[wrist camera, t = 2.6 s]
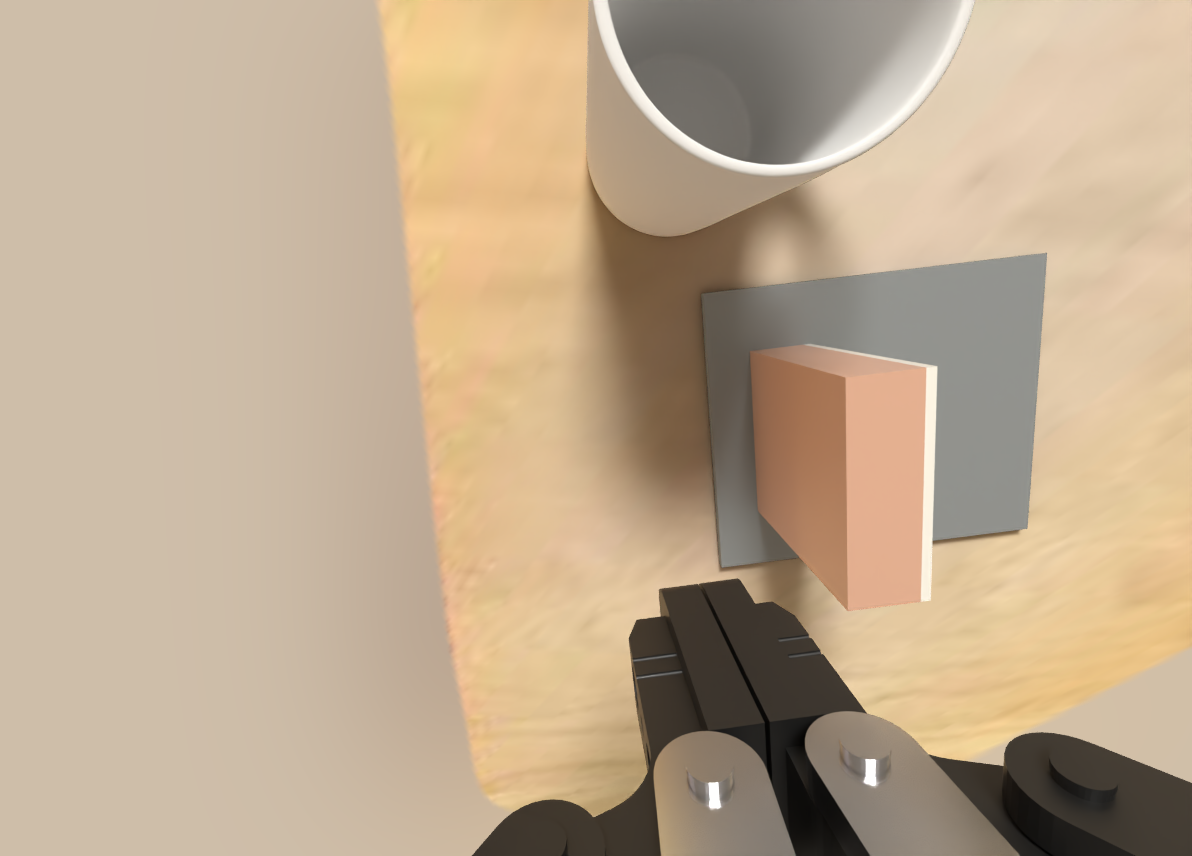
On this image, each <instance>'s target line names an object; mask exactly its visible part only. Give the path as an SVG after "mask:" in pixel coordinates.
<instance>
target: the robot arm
mask: <svg viewBox="0 0 1192 856" xmlns="http://www.w3.org/2000/svg"><path fill="white" fill-rule="evenodd" d="M659 602H660V613H661V617H655V618H647V619H640V620H636V623H635V625H634V627H633V630H632V632H631V634H630V637H629V645H630V654H631V663H632V672H633V681H634V690H635V699H636V708H637V714H638V720H639V726H640V731H641V736H642V742H643V748H644V753H645V759H646V765H647V770H648V773H647V775H646V777H645V779H644V781H643V783H642V784H641V786H640V787H639V788H638V790H637V791H636V792H635V793H634V794H633V795H632V796H631V797H629V798H628V799H627V800H626V801H624V802H623V803H621V804H620V805H618V806H616V807H614V808H613V809H611V810H608V811H606V812H604V813H602V814H600V815H598V816H596V817H594V818H593V817H592V815H591V814H590V813H589V812H588V811H586V810H585V809H583V808H582V807H580V806H578V805H576V804H574V803H571V802H568V801H563V800H542V801H538V802H534V803H531V804H529V805H526V806H524V807H522V808H520V809H518V810H517V811H515V812H513V813H512V814H511V815H509V816H508V817H507V818H505V819H504V820H503V821H502V822H501V823H500V824H499V825H498V826H497V827H496V829H495V830H494V831H493V832H492V833H491V835H489V837H488V838H487V839H486V840H485V841H484V842H483V844H482V845H481V846H480V847H479V848H478V849H477V850H476V852H475V853H474V854H473V855H472V856H1192V783H1190V782H1188V781H1185V780H1183V779H1180V778H1178V777H1175V776H1173V775H1170V774H1168V773H1165V772H1162V771H1160V770H1157V769H1155V768H1152V767H1150V766H1147V765H1145V764H1142V763H1140V762H1137V761H1135V760H1132V759H1130V758H1127V757H1125V756H1122V755H1120V754H1117V753H1115V752H1112V751H1109V750H1107V749H1105V748H1102V747H1099V746H1097V745H1095V744H1092V743H1089V742H1086V741H1083V740H1081V739H1077V738H1074V737H1070V736H1066V735H1060V734H1055V733H1043V732H1041V733H1029V734H1024V735H1021V736H1018V737H1016V738H1014V739H1013V740H1012V741H1010V742H1009V744H1008V745H1007V747H1006V750H1005V753H1004V766H999V765H991V764H983V763H975V762H968V761H960V760H952V759H946V758H940V757H936V756H932V755H929V754H927V753H926V752H925V750H924V749H923V748H922V747H921V746H920V745H919V744H918V743H917V742H916V741H915V740H914V739H913V738H912V737H911V736H910V735H909V734H908V733H906V732H905V731H904V730H902V729H901V728H900V727H898V726H896V725H894V724H893V723H891V722H889V721H887V720H884V719H882V718H880V717H877V716H874V715H870V714H867V713H866V712H865V710H864V709H863V708H862V706H861V705H860V703H859V702H858V701H857V699H856V698H855V697H854V695H853V694H852V693H851V691H850V690H849V689H848V687H847V686H846V685H845V683H844V682H843V680H842V679H841V678H840V676H839V675H838V674H837V672H836V671H835V670H834V668H833V667H832V666H831V664H830V663H829V661H828V660H827V659H826V657H825V656H824V655H823V654H822V655H821V652H820V649H819V648H818V647H817V645H816V644H815V643H814V641H813V640H812V638H809V634H808V633H807V632H806V630H805V629H804V628H803V626H802V625H801V624H800V622H799V621H798V619H797V618H796V617H795V616H794V615H793V614H791V613H789V612H788V611H786V610H785V609H783V608H781V607H780V606H778V605H777V604H775V603H773V602H766V603H759V604H755V603H754V601H753V600H752V598H751V596H750V595H749V593H748V592H747V590H746V589H745V587H744V585H743V584H742V582H741V581H740V580H739V579H731V580H723V581H716V582H708V583H701V584H699V585H698V584H694V585H686V586H679V587H671V588H664V589H659Z"/></svg>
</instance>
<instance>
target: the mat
mask: <svg viewBox="0 0 1192 856" xmlns="http://www.w3.org/2000/svg"><path fill="white" fill-rule="evenodd" d="M1046 261H1047V253H1043V254H1034V255H1025V256H1017V257H1008V258H1000V259H991V260H983V261H974V262H966V263H957V264H949V265H940V266H932V267H923V268H915V269H906V270H898V271H889V272H881V273H872V274H864V275H855V276H847V277H839V278H830V279H822V280H813V281H805V282H796V283H788V284H779V285H771V286H762V287H754V288H745V289H737V290H728V291H720V292H711V293H703V294H701V301H702V316H703V330H704V345H705V360H706V374H707V389H708V404H709V418H710V433H711V447H712V462H713V477H714V491H715V506H716V521H717V535H718V550H719V564H720V565H721V567H722V568H723V567H730V566H738V565H746V564H754V563H762V562H770V561H778V560H785V559H793V558H800V557H799V556H798V555H797V554H796V553H795V552H794V551H793V549H792V548H791V547H790V546H789V545H788V544H787V543H786V542H785V541H784V539H783V538H782V537H781V536H780V535H779V534H778V533H777V532H776V530H775V529H774V528H773V527H772V526H771V525H770V524H769V523H768V522H767V520H766V519H765V518H764V517H763V516H762V515H761V514H760V513H759V512H758V505H757V485H756V465H755V445H754V425H753V404H752V384H751V364H750V351H755V350H763V349H772V348H780V347H788V346H797V345H805V344H814V345H819V346H825V347H831V348H836V349H842V350H848V351H853V352H859V353H865V354H870V355H876V356H882V357H887V358H893V359H899V360H904V361H910V362H916V363H921V364H927V365H933V366H937V399H936V434H935V469H934V503H933V538H932V541H934V540H942V539H950V538H958V537H966V536H974V535H982V534H989V533H997V532H1005V531H1013V530H1021V529H1027V527H1028V513H1029V499H1030V485H1031V471H1032V457H1033V443H1034V429H1035V415H1036V401H1037V387H1038V373H1039V359H1040V345H1041V331H1042V317H1043V303H1044V289H1045V275H1046Z"/></svg>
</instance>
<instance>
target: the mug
mask: <svg viewBox="0 0 1192 856" xmlns="http://www.w3.org/2000/svg"><path fill="white" fill-rule="evenodd" d="M974 3H975V0H589V6H588V55H587V106H586V153H587V163H588V168H589V173H590V176H591V179H592V182H593V185H594V187H595V189H596V191H597V193H598V195H599V197H600V199H601V200H602V202H603V203H604V204H605V206H606V207H607V208H608V209H609V211H610V212H611V213H612V214H613V215H614V216H615V217H616V218H618V219H619V220H620V221H621V222H623V223H624V224H626V225H627V226H629V227H631V228H633V229H635V230H637V231H640V232H642V233H645V234H649V235H654V236H663V237H670V236H679V235H684V234H688V233H691V232H694V231H697V230H700V229H703V228H705V227H708V226H710V225H713V224H715V223H717V222H719V221H721V220H723V219H725V218H728V217H730V216H732V215H734V214H736V213H739V212H741V211H743V210H745V209H748V208H750V207H752V206H754V205H757V204H759V203H761V202H763V201H766V200H768V199H770V198H772V197H775V196H777V195H779V194H781V193H784V192H786V191H788V190H790V189H793V188H795V187H797V186H799V185H802V184H804V183H806V182H808V181H810V180H812V179H814V178H816V177H818V176H821V175H823V174H825V173H826V172H828V171H830V170H832V169H834V168H836V167H837V166H839V165H841V164H844V163H846V162H848V161H850V160H852V159H854V158H856V157H858V156H860V155H862V154H864V153H865V152H867V151H869V150H870V149H872V148H873V147H875V146H876V145H878V144H879V143H881V142H882V141H883V140H885V139H886V138H887V137H889V136H890V135H891V134H892V133H893V132H895V131H896V130H897V129H898V128H899V127H900V126H902V125H903V124H904V123H905V122H906V121H907V120H908V119H909V118H910V117H911V116H912V115H913V114H914V113H915V112H916V111H917V109H918V108H919V107H920V106H921V105H922V104H923V102H924V101H925V100H926V99H927V97H928V96H929V95H930V94H931V92H932V91H933V90H934V88H935V87H936V85H937V84H938V82H939V81H940V79H941V78H942V76H943V75H944V73H945V71H946V70H947V68H948V66H949V65H950V63H951V61H952V59H953V57H954V55H955V53H956V51H957V49H958V47H959V45H960V43H961V40H962V38H963V36H964V33H965V31H966V28H967V25H968V22H969V20H970V17H971V13H972V10H973V7H974Z"/></svg>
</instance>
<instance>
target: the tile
mask: <svg viewBox="0 0 1192 856" xmlns="http://www.w3.org/2000/svg"><path fill="white" fill-rule="evenodd" d="M750 364H751V384H752V404H753V425H754V445H755V465H756V485H757V505H758V512H759V513H760V514H761V515H762V516H763V517H764V518H765V519H766V520H767V522H768V523H769V524H770V525H771V526H772V527H773V528H774V529H775V530H776V532H777V533H778V534H779V535H780V536H781V537H782V538H783V539H784V541H785V542H786V543H787V544H788V545H789V546H790V547H791V548H792V549H793V551H794V552H795V553H796V554H797V555H798V556H799V557H800V558H801V559H802V561H803V562H804V563H805V564H806V565H807V566H808V567H809V568H810V569H811V571H812V572H813V573H814V574H815V575H816V576H817V577H818V578H819V580H820V581H821V582H822V583H823V584H824V585H825V586H826V587H827V588H828V590H829V591H830V592H831V593H832V594H833V595H834V596H835V597H836V598H837V600H838V601H839V602H840V603H841V604H842V605H843V606H844V607H845V608H846V610H847V611H853V610H860V609H868V608H876V607H883V606H891V605H899V604H907V603H914V602H922V601H930V600H931V573H932V538H933V503H934V469H935V434H936V399H937V366H933V365H927V364H921V363H916V362H910V361H904V360H899V359H893V358H887V357H882V356H876V355H870V354H865V353H859V352H853V351H848V350H842V349H836V348H831V347H825V346H819V345H814V344H805V345H797V346H788V347H780V348H772V349H763V350H755V351H750Z"/></svg>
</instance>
